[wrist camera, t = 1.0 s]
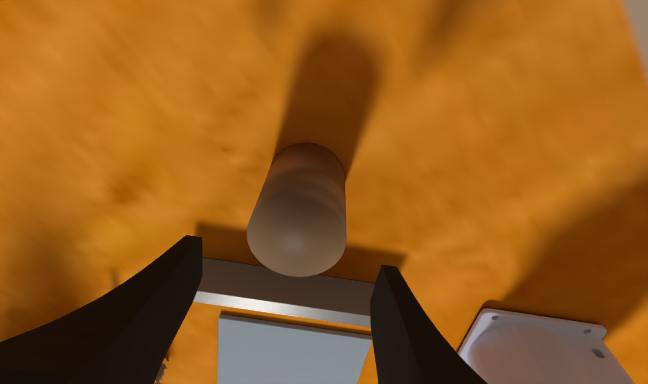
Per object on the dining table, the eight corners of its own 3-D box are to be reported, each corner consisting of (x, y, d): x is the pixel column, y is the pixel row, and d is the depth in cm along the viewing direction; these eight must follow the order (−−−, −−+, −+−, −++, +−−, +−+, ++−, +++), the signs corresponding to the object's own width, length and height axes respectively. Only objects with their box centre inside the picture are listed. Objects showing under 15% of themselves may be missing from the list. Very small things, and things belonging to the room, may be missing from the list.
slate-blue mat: (371, 335, 28) (372, 340, 27) (343, 416, 34) (343, 421, 33) (220, 314, 27) (218, 318, 27) (218, 400, 33) (217, 404, 33)
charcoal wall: (389, 285, 25) (395, 319, 22) (386, 295, 26) (391, 330, 23) (192, 256, 24) (175, 287, 22) (193, 266, 25) (175, 299, 22)
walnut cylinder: (351, 149, 20) (355, 205, 15) (337, 214, 22) (336, 282, 17) (273, 136, 20) (249, 188, 15) (266, 203, 22) (244, 269, 17)
